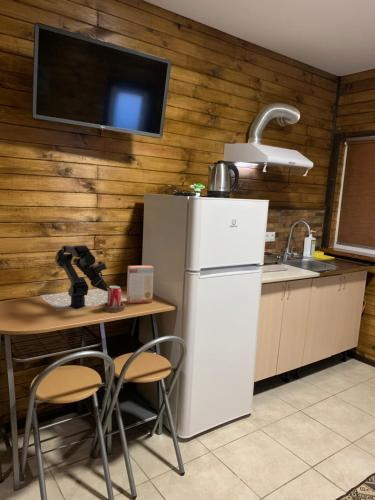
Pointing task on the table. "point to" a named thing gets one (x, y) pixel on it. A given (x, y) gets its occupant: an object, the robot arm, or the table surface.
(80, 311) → the table surface
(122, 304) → the ring
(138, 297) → the cracker box
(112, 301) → the soda can
